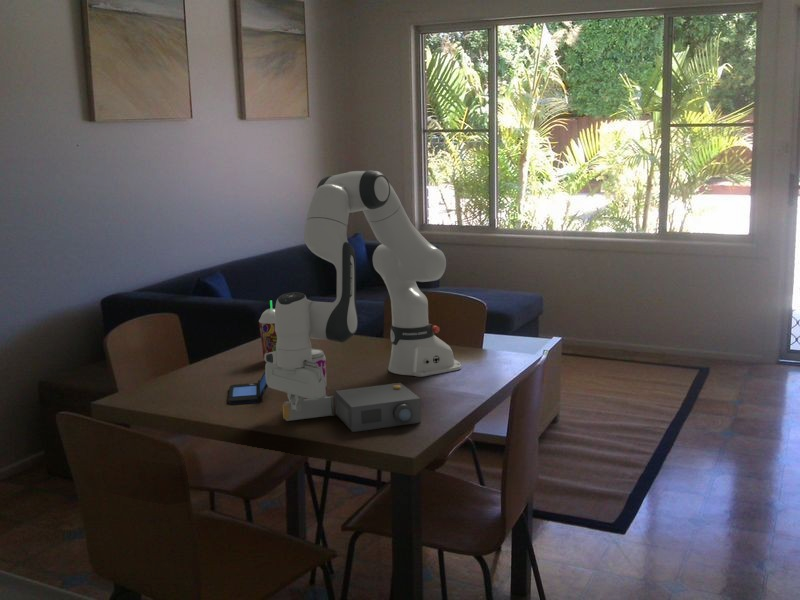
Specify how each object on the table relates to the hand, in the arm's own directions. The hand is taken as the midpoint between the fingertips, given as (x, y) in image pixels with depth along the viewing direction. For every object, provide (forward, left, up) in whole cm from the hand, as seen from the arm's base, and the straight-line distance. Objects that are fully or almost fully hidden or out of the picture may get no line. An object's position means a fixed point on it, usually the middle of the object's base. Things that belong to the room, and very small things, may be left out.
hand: (296, 410), depth 229 cm
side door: (-4, -2, -3) cm, 5 cm away
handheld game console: (+6, -29, -4) cm, 30 cm away
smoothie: (-7, -63, -3) cm, 64 cm away
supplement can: (-7, -12, -4) cm, 15 cm away
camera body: (-20, +6, -3) cm, 21 cm away
